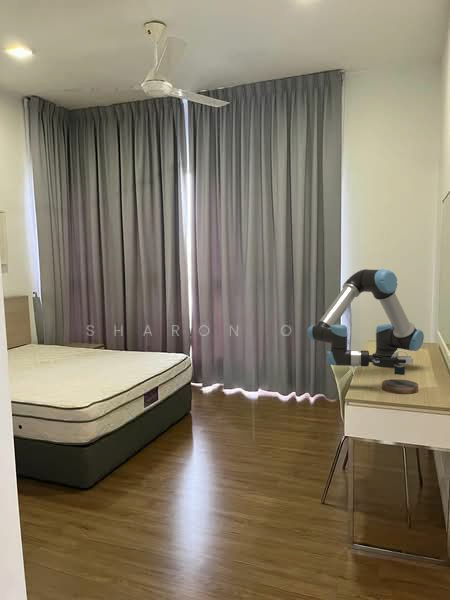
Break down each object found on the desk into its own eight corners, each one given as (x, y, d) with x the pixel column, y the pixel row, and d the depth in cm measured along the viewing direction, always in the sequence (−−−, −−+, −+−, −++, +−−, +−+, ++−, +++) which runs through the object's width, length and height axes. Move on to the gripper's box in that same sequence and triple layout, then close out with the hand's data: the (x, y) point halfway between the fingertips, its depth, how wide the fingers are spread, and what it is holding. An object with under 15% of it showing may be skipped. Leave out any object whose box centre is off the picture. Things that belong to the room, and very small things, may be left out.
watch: (391, 370, 228) (391, 348, 227) (409, 372, 225) (409, 349, 223) (389, 373, 223) (390, 350, 222) (408, 375, 219) (408, 352, 218)
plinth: (393, 382, 236) (393, 376, 235) (424, 389, 223) (424, 383, 223) (375, 388, 226) (375, 382, 225) (406, 396, 213) (406, 389, 213)
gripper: (358, 362, 236) (409, 363, 231) (361, 370, 219) (415, 372, 214) (359, 347, 235) (409, 348, 230) (361, 354, 218) (415, 355, 213)
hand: (412, 360), depth 222 cm, fingers closed on watch, 5 cm apart
